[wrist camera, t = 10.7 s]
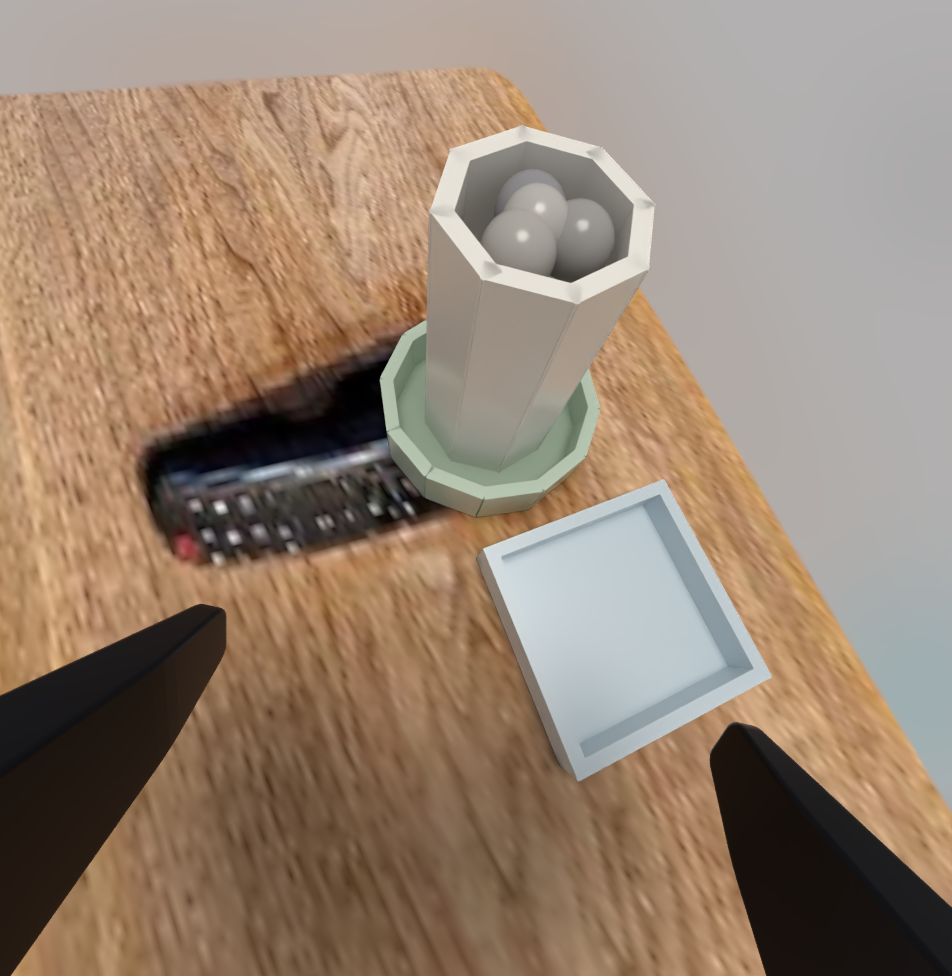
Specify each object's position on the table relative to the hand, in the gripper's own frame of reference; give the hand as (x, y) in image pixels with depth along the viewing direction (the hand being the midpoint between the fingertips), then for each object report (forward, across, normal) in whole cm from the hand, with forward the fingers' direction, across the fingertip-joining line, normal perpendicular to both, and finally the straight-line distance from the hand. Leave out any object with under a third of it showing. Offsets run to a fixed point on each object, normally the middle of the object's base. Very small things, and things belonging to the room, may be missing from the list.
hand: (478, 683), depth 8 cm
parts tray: (+12, -7, +7) cm, 15 cm away
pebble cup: (+17, +1, 0) cm, 17 cm away
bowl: (+18, +1, 0) cm, 18 cm away
